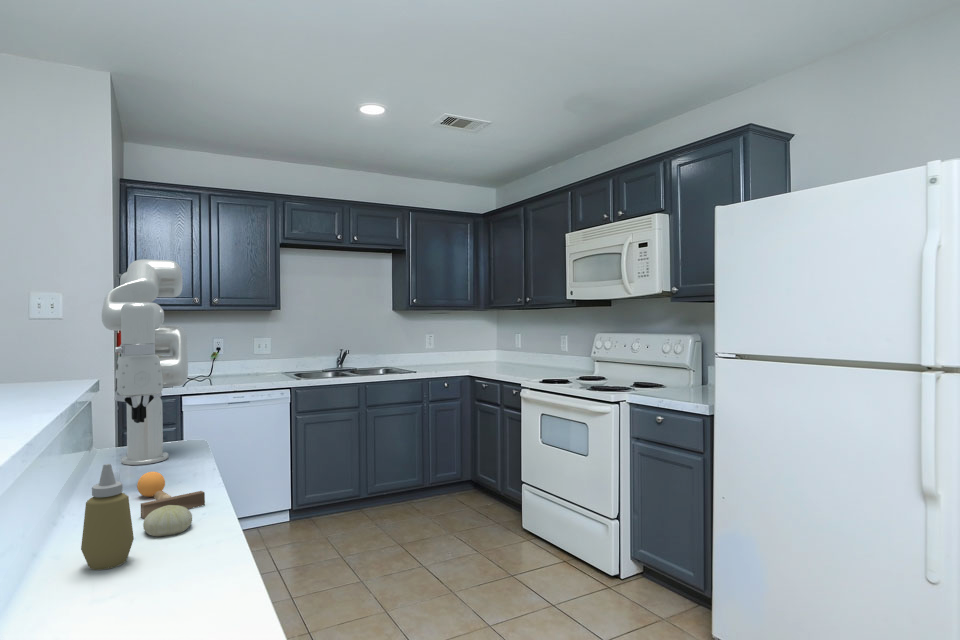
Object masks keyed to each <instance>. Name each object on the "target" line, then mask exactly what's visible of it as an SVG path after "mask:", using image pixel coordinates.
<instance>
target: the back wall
mask: <svg viewBox="0 0 960 640" xmlns="http://www.w3.org/2000/svg"><path fill="white" fill-rule="evenodd" d="M205 494H206V493H205V491H203V490H199V491H194V492H189V493H183V494H179V495H175V496H171V497H169V498H164V499H160V500H155V499H154V500H152V501H147V502H141V503H140V518H141V519H142V520H145V518H146V516H147V515H148V514H149V513H151V512H152V511H154V510H156V509H158V508H160V507H163V506H167V505H178V506H183V507H185V508H187V509H188V510H190V509H194V508H193V507H195V508H198V506H199V507H203V506H202V505H204V506H206V505H205V504H206V495H205ZM189 508H190V509H189Z"/></svg>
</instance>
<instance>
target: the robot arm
mask: <svg viewBox="0 0 960 640" xmlns="http://www.w3.org/2000/svg"><path fill="white" fill-rule="evenodd" d="M183 285H184V282H183V272H182V268H181V266H180V265H179V263H177V262H176V261H174V260H168V259H147V258H146V259H145V258H144V259H137V260H134V261H132V262H130V263H129V264H128V267H127V270H126V272H123V274H121V276H120V279H119V286H117V287H115V288H113V289H111V290H110V291H108V293H106V295H105V297H104V300H103V304H102V309H101V322H102V325H103V326H104V327H105V328H106V330H110V331H115V332H116V331H120V345H119V346H117V347H116V346H115V347H114V353H119V354H120V356H118V357H117V362H116V369H115V374H114V375H115V376H114V377H115V378H114V391H115V395H114V401H116V402H122V403H123V402H125V403H126V453H127V454H126V455H125V456H123V457H122V458H121V460H120V462H121V464H123V465H128V466H129V465H130V466H131V465H132V466H139V465H140V466H141V465H149V464H150V465H151V464H154V463H160V462H162V461H165V460H168V459H169V453H168V452H166V451H164V445H163V443H164V439H163V438H164V437H163V436H164V434H163V433H164V432H163V430H164V429H163V428H164V426H163V423H164V422H163V419H164V418H163V400H162V399H161V397H162V396H163V394H162V392H163V389H164V388H168V387H169V388H170V387H172V388H173V387H181V386H183V385H185V384H186V383H187V380H188V378H189V377H188V376H189V362H188V360H189V359H188V338H187V332H186V330H185V329H184V328H183V327H182V326H180V325H177V324H176V325H173V324H172V325H171V324H167V325H166V324H165V325H163V323H164V322H165V311H164V309H163V308H162V306H161V305H160V304H158V303H155V302H154V301H155V300H156V299H157V298H176V297H177V298H178V297H179V296H180V295H181V294H182V291H183Z"/></svg>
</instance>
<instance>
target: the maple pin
mask: <svg viewBox="0 0 960 640" xmlns="http://www.w3.org/2000/svg"><path fill="white" fill-rule="evenodd" d="M169 497H172V496H171V495H170V494H168V493H166V492H165V491H164V490H162V491H157V492H156V493H155V495H154V496H153V499H154V501H155V500H160V499H164V498H169Z"/></svg>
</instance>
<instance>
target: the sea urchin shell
mask: <svg viewBox="0 0 960 640" xmlns="http://www.w3.org/2000/svg"><path fill="white" fill-rule="evenodd" d="M192 523H193V513H192V512H191V511H190V509H187V508H185V507H183V506H178V505H167V506H163V507H160V508H158V509H156V510H154V511H152V512H151V513H149V514H148V515H147V516H146V518H145V519H143V523H142V526H143V530H144V532H146V533H147V535H149V536H152V537H156V538H159V537H164V536H173V535H177V534H181V533H183V532H184V531H186V530H187V529H188V528H189V527H190V526H191V524H192Z"/></svg>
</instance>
